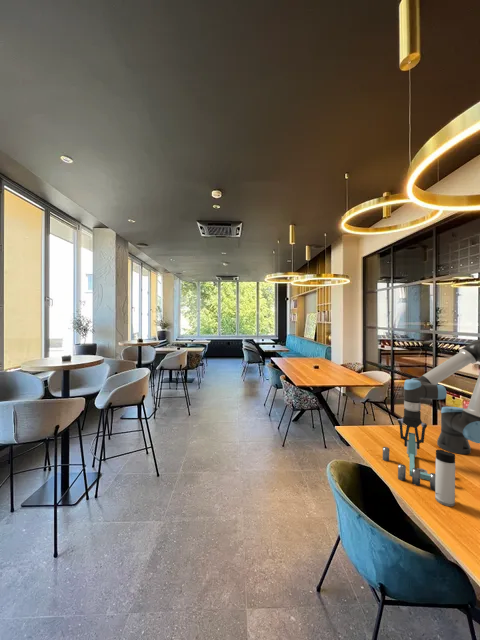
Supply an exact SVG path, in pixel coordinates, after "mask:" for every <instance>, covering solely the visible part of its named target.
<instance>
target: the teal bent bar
mask: <svg viewBox="0 0 480 640" xmlns="http://www.w3.org/2000/svg"><path fill="white" fill-rule="evenodd" d="M408 440H409V452H408V454H407V457H408V458H409V476H411V477H412V468H416V467H415V459H416V456H415V441H416V434H415V432H414V433H413V432H410V431H409V433H408ZM420 479H423V480H426V481H429V482H430V473H428V472H427V473H423V472H420Z"/></svg>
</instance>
